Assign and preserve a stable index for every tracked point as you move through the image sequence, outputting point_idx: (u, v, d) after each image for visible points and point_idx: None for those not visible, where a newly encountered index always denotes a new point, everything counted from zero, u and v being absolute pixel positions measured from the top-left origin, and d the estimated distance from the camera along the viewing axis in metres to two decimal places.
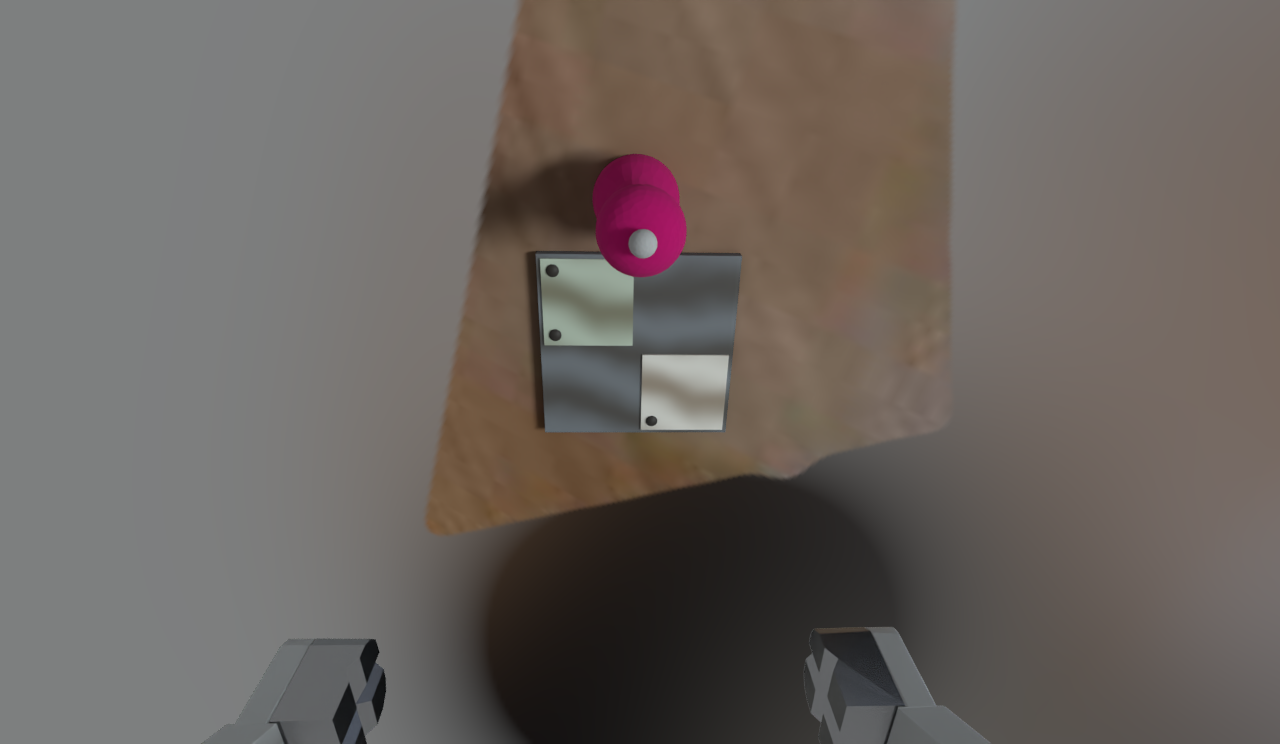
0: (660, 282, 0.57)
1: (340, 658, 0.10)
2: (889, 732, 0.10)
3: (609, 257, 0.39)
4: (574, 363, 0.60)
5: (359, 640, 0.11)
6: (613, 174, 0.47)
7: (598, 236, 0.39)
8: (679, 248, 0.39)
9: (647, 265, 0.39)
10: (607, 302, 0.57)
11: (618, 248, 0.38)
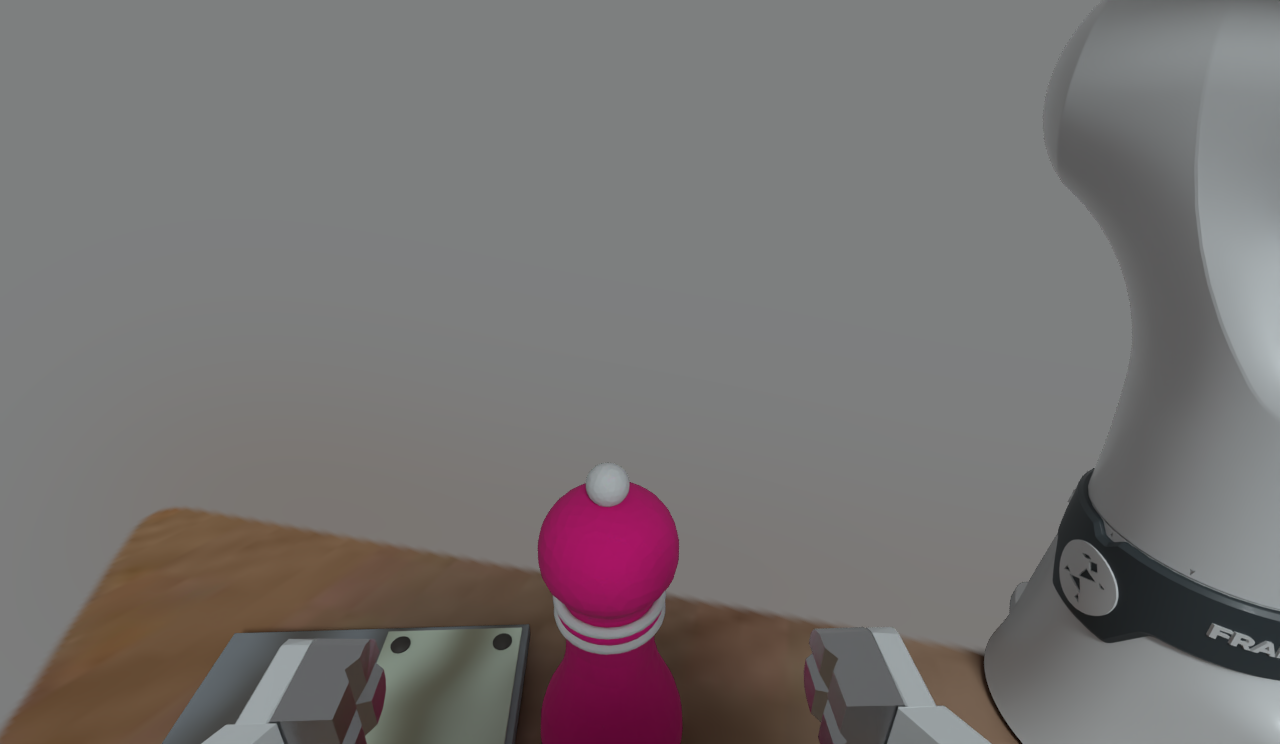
0: None
1: (340, 658, 0.10)
2: (889, 732, 0.10)
3: None
4: None
5: (359, 640, 0.11)
6: None
7: None
8: (588, 562, 0.23)
9: (566, 512, 0.24)
10: (433, 719, 0.34)
11: None
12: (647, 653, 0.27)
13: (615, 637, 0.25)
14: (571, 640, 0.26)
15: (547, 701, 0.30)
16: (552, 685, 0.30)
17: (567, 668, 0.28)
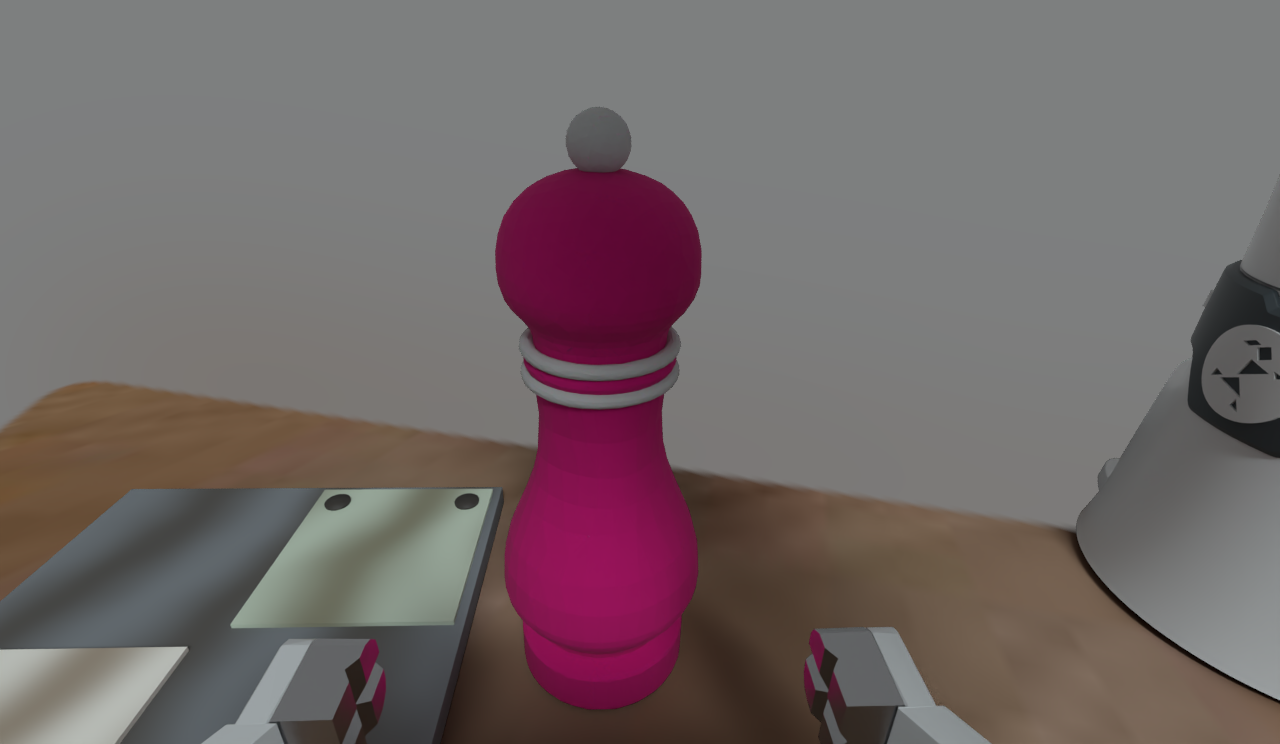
0: None
1: (340, 658, 0.10)
2: (889, 732, 0.10)
3: None
4: (256, 529, 0.29)
5: (359, 640, 0.11)
6: None
7: None
8: (566, 228, 0.15)
9: (537, 184, 0.17)
10: (369, 577, 0.26)
11: None
12: (652, 436, 0.19)
13: (607, 376, 0.17)
14: (543, 392, 0.18)
15: (513, 521, 0.21)
16: (520, 500, 0.21)
17: (539, 460, 0.20)
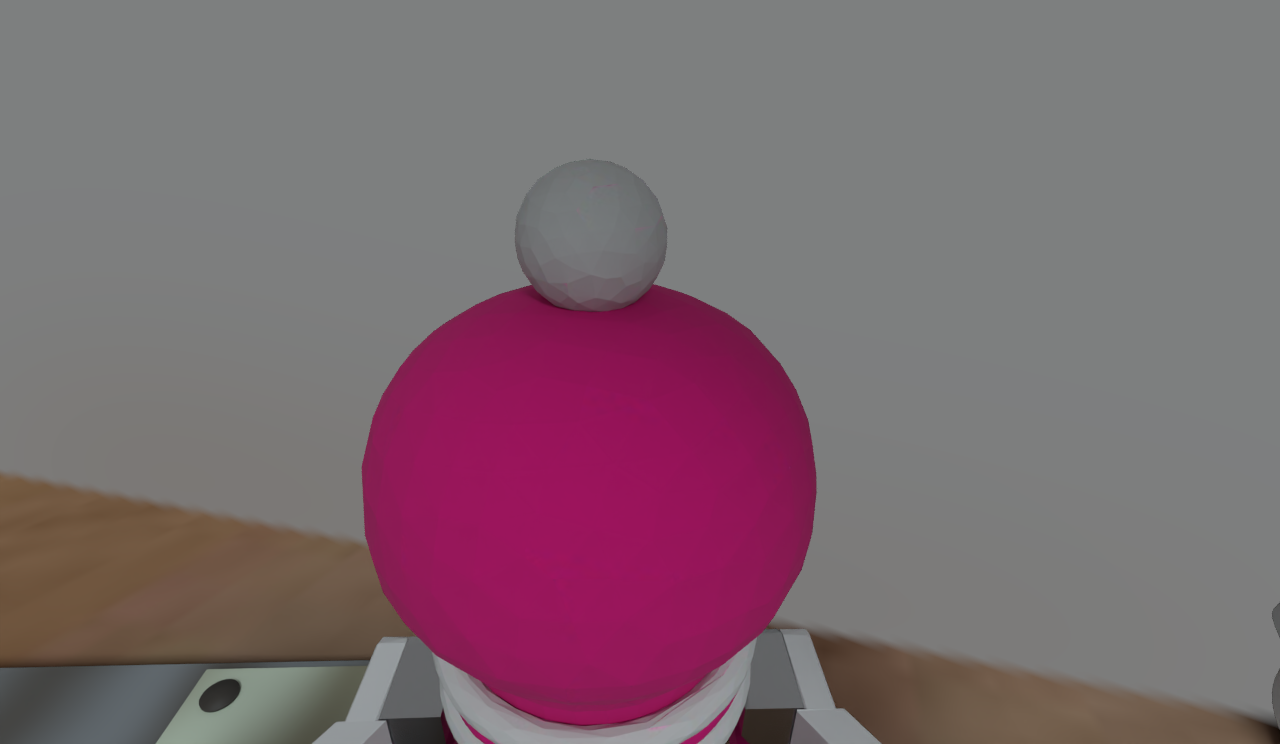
0: None
1: None
2: (790, 735, 0.10)
3: None
4: None
5: None
6: None
7: None
8: (506, 492, 0.06)
9: (450, 333, 0.07)
10: None
11: None
12: None
13: None
14: None
15: None
16: None
17: None
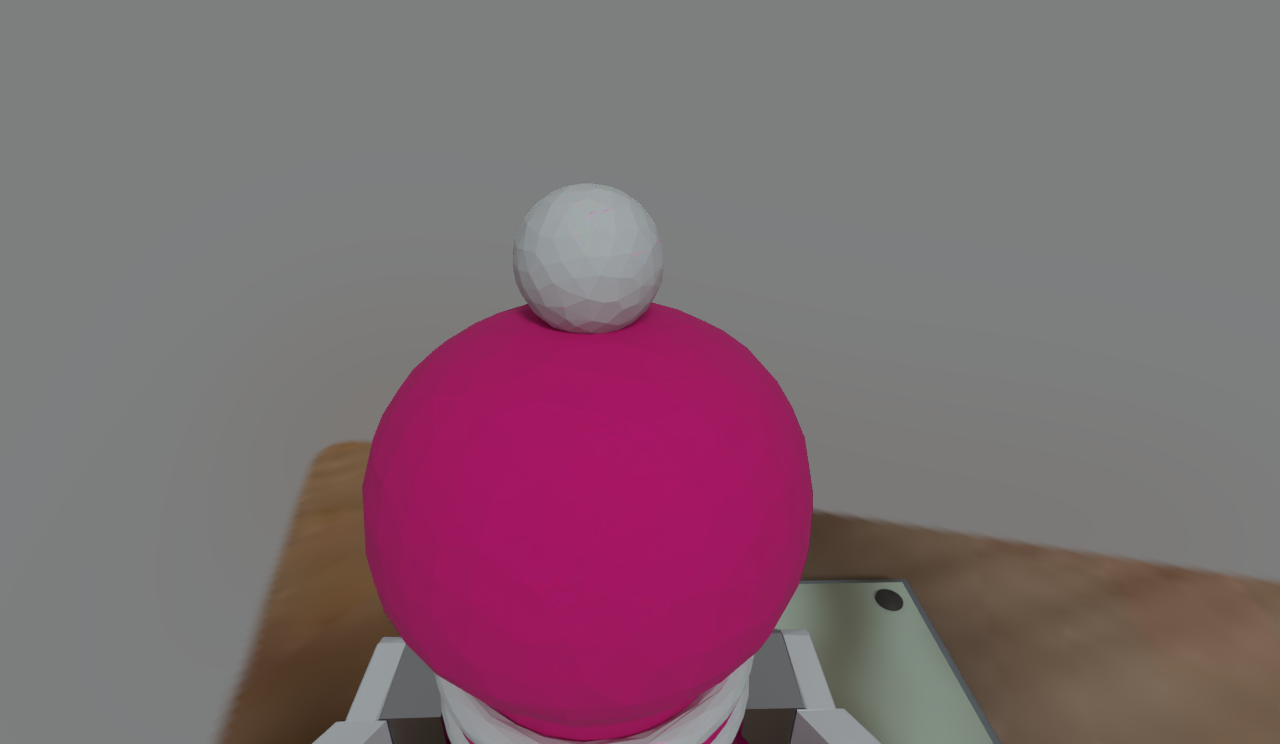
0: None
1: None
2: (790, 735, 0.10)
3: None
4: None
5: None
6: None
7: None
8: (503, 517, 0.06)
9: (449, 356, 0.07)
10: (864, 705, 0.23)
11: None
12: None
13: None
14: None
15: None
16: None
17: None
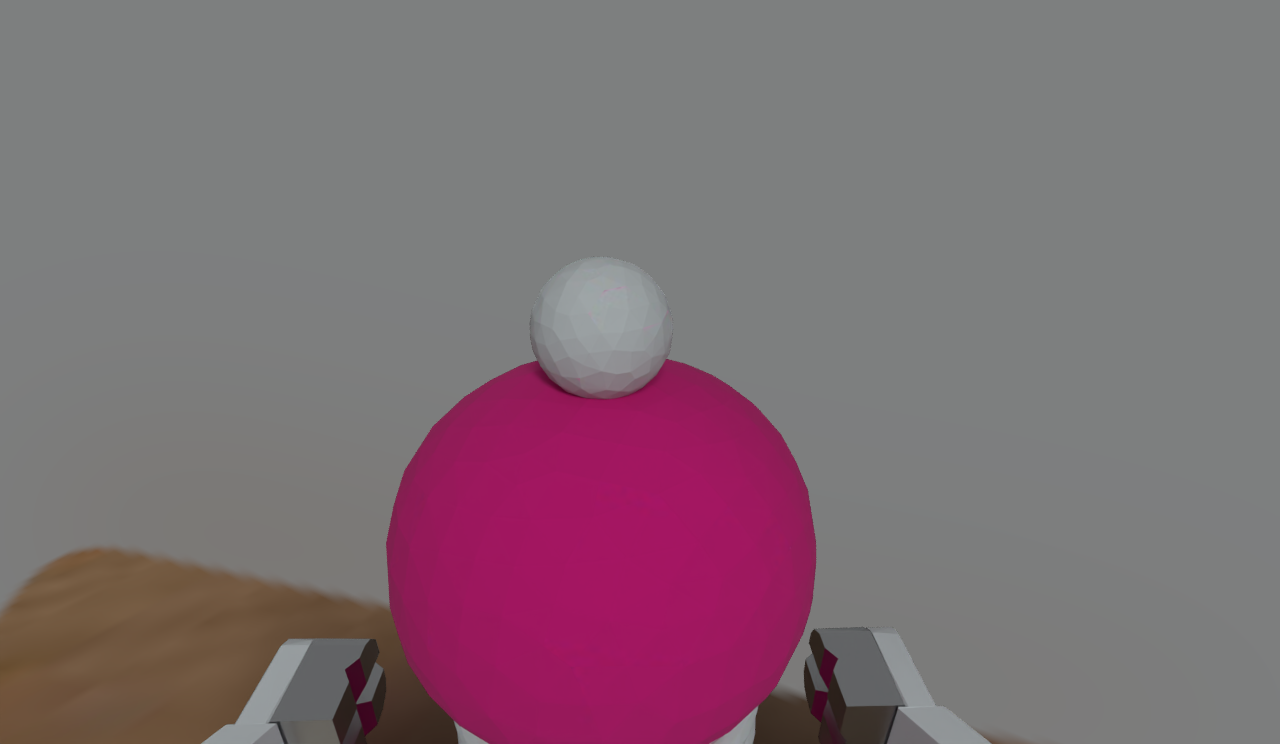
0: None
1: (340, 658, 0.10)
2: (889, 732, 0.10)
3: None
4: None
5: (359, 640, 0.11)
6: None
7: None
8: (526, 586, 0.06)
9: (468, 419, 0.08)
10: None
11: None
12: None
13: None
14: None
15: None
16: None
17: None
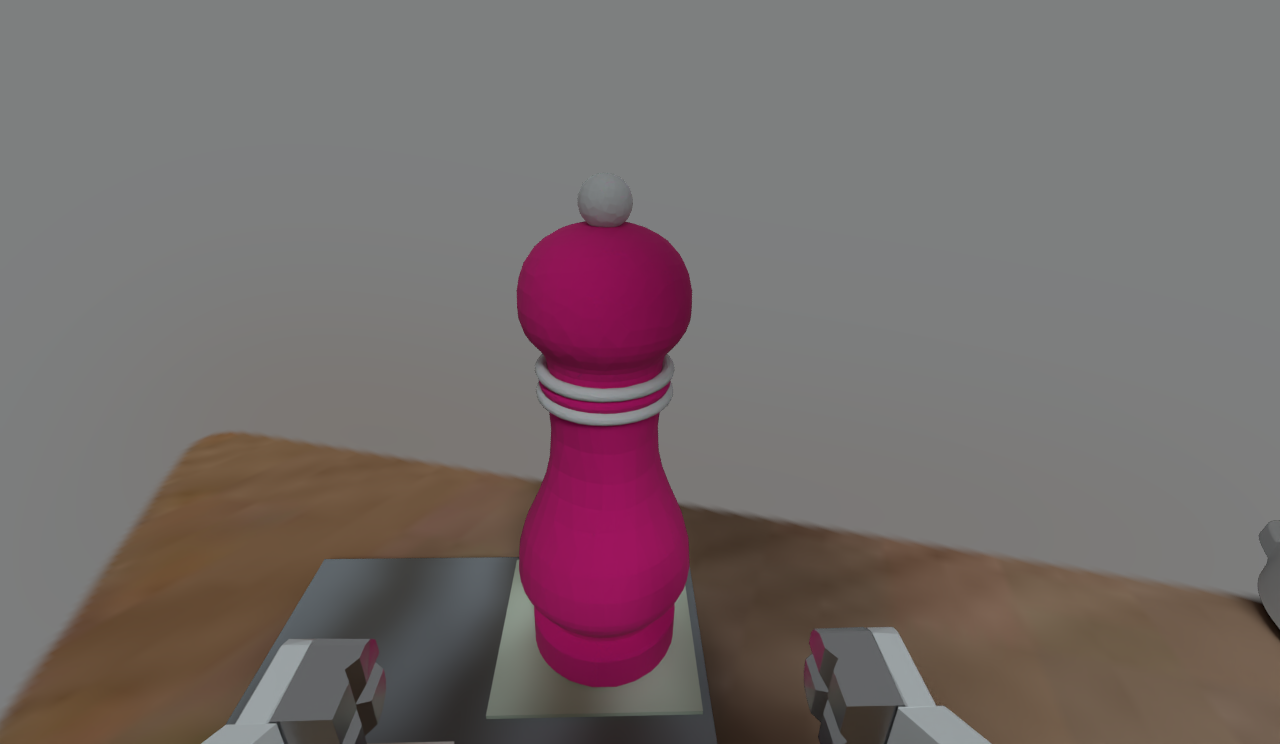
0: None
1: (340, 658, 0.10)
2: (889, 732, 0.10)
3: None
4: (466, 605, 0.29)
5: (359, 640, 0.11)
6: None
7: None
8: (579, 278, 0.18)
9: (553, 236, 0.20)
10: None
11: None
12: (650, 447, 0.22)
13: (611, 398, 0.20)
14: (556, 411, 0.21)
15: (527, 521, 0.24)
16: (533, 503, 0.24)
17: (551, 468, 0.23)
